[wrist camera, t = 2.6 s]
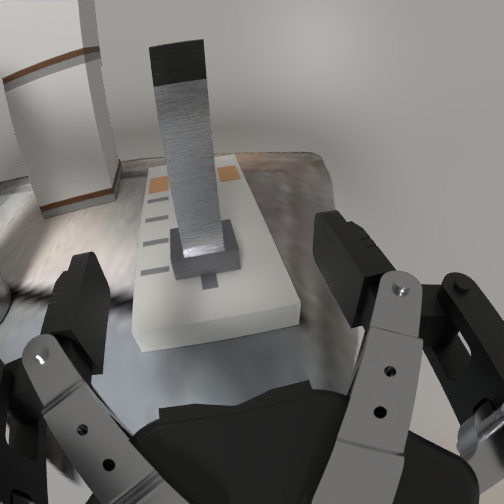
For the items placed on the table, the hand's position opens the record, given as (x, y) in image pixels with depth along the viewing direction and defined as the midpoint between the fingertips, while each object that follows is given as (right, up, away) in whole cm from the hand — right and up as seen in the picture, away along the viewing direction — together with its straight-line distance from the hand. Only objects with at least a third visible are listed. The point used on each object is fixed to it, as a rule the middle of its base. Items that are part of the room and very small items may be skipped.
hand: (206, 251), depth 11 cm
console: (-4, +2, +23) cm, 23 cm away
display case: (-24, +9, +33) cm, 41 cm away
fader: (-2, -1, +15) cm, 15 cm away
